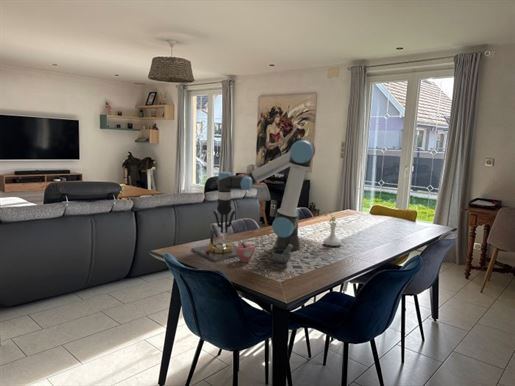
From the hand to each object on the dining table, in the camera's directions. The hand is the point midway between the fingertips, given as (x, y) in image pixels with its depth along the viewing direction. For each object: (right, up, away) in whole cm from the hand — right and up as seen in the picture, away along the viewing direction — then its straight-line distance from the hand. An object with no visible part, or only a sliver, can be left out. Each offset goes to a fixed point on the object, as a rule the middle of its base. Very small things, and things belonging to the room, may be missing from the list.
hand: (223, 238), depth 226 cm
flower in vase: (+65, -6, +12) cm, 67 cm away
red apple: (+13, -10, -23) cm, 28 cm away
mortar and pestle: (+33, -11, -28) cm, 44 cm away
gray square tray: (-1, -7, -8) cm, 10 cm away
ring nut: (-2, -5, -7) cm, 9 cm away
